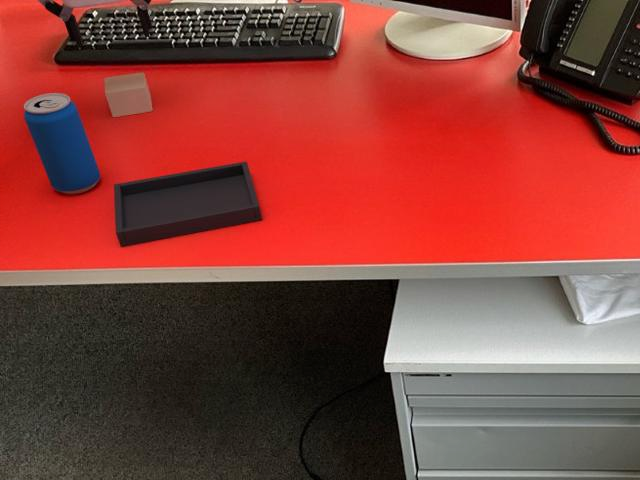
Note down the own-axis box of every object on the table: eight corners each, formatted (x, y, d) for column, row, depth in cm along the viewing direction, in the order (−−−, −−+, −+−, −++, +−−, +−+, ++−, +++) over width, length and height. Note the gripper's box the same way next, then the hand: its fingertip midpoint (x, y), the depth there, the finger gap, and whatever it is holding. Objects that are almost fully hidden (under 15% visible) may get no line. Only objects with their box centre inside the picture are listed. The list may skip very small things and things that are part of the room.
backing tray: (120, 246, 111) (115, 232, 110) (118, 198, 120) (113, 184, 119) (262, 220, 116) (259, 205, 114) (250, 174, 124) (246, 161, 123)
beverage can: (75, 170, 126) (45, 88, 118) (112, 177, 124) (84, 95, 116) (42, 192, 122) (8, 109, 114) (80, 200, 120) (48, 116, 112)
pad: (112, 117, 138) (104, 93, 136) (111, 101, 143) (104, 77, 140) (152, 111, 140) (145, 87, 137) (150, 96, 144) (143, 71, 141)
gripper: (5, -68, 118) (53, 58, 130) (140, -85, 122) (174, 39, 134) (8, -84, 123) (54, 39, 135) (138, -99, 127) (171, 21, 139)
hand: (114, 39), depth 134 cm, fingers open, 9 cm apart
